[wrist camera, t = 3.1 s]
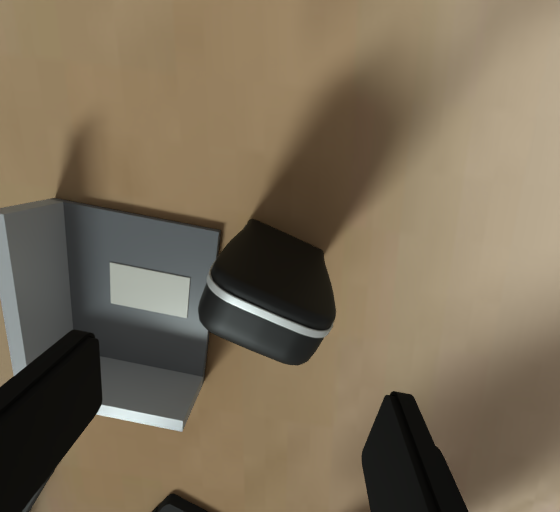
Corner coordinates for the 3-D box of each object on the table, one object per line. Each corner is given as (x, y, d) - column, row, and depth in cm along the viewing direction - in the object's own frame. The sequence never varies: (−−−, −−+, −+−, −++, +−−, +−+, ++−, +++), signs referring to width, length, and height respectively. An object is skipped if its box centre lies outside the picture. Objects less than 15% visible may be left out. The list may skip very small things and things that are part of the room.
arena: (220, 230, 24) (197, 252, 19) (203, 381, 30) (182, 431, 24) (54, 198, 24) (-15, 210, 19) (68, 354, 30) (17, 398, 24)
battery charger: (231, 255, 25) (176, 335, 14) (248, 214, 24) (202, 268, 13) (306, 288, 25) (308, 390, 15) (327, 250, 24) (346, 331, 13)
